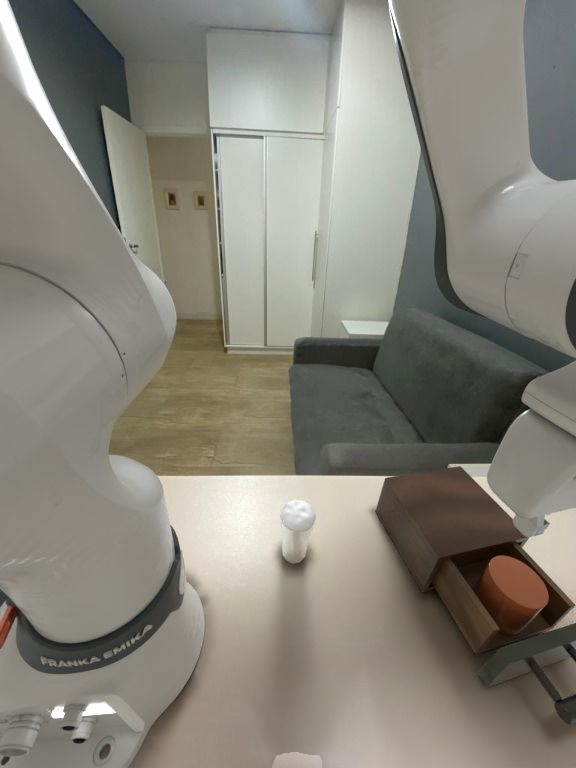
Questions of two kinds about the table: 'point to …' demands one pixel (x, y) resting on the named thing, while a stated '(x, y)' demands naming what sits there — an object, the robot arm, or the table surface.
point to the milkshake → (296, 529)
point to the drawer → (483, 633)
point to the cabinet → (441, 519)
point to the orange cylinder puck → (511, 594)
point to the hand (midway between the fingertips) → (565, 520)
